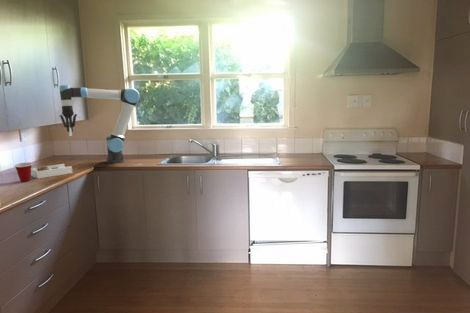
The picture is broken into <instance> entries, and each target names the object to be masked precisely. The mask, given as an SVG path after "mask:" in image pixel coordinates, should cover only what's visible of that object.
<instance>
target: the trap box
mask: <svg viewBox="0 0 470 313" xmlns="http://www.w3.org/2000/svg"><path fill="white" fill-rule="evenodd" d="M46 166H47V167H48V170H43V171H37V167H33V168H32V167H31V177H33V178H35V179H37V178H38V179H42V178H50V177H57V176H61V175H62V176H63V175H67V174H73V167H72V166H69V165H68V166H65V163H61V164H53V165H46Z"/></svg>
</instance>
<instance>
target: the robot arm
mask: <svg viewBox="0 0 470 313" xmlns="http://www.w3.org/2000/svg"><path fill="white" fill-rule="evenodd" d="M59 95H60V102H61V103H60V105H61V114H59V115H58V117H59V118H60V120H61V123H62V125H63V127H64V128H66V131H67V133H68V136H69V137H73V132H74V130H73V128H74V127H75V126H76V118H77V114H76V113H74V108H73V101H72V100H73V99H72V98H87V99H88V98H89V99H105V100H106V99H107V100H118V101H120V102H121V103H122V106H121V110H120V113H119V115H118V119H117V121H116V124H115V126H114V127H115V128H114V130H113V132H112V133H110V134H108V135H106V138H105V140H106V147H107V148H106V149H107V150H106V151H107V154H106V159H105V161H106V162H105V163H107V164H117V163H119V164H120V163H123V162H125V161H126V160H125V157H124V154H123V152H122V151H123V149H124V147H125V145H124V144H125V140H126V137H125V134H126V131H127V128H128V125H129V122H130V118H131V117H132V116H131V115H132V113H133V110H134V108H136V107H137V105H138V104H137V103H138V102H139V100H140V92H139V91H138V90H137V89H135V88H133V87H129V88H125V89H124V88H123V89H121V88H119V89H118V90H117V89H100V88H87V87H86V86H85V87H82V86H80V87H78V86H77V87H71V85H70V84H69V85H68V84H62V85H60V86H59Z"/></svg>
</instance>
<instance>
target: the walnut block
mask: <svg viewBox="0 0 470 313" xmlns="http://www.w3.org/2000/svg"><path fill="white" fill-rule="evenodd" d="M47 166H48V165H40V166H36V168H37V171H43V170H48V167H47Z"/></svg>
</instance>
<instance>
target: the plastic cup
mask: <svg viewBox="0 0 470 313" xmlns="http://www.w3.org/2000/svg"><path fill="white" fill-rule="evenodd" d="M13 166H14V167H15V170H16V173H17V175H18V178H19V181H20V182H21V183H27V181H28V182H30V181H31V179H32V178H31V177H32V176H31V168H32V166H33V162H21V163H20V162H19V163H16V164H14V165H13Z"/></svg>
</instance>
